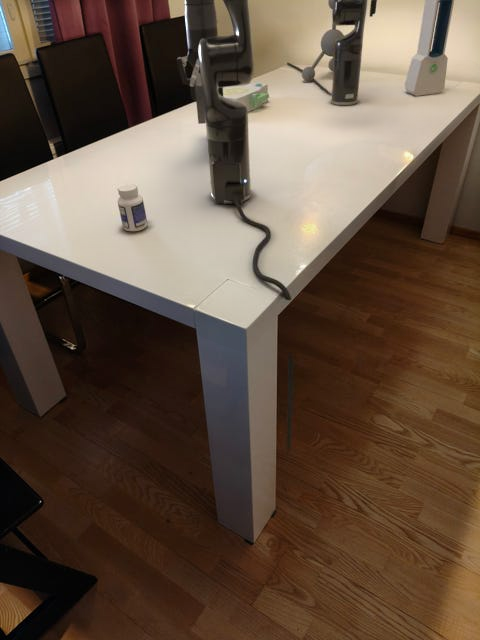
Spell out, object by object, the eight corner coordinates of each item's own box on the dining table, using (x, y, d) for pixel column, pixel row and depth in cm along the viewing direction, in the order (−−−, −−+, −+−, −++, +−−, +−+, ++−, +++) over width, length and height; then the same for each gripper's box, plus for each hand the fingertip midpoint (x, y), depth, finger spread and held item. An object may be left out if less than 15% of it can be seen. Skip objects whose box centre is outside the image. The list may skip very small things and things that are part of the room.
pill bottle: (149, 220, 107) (142, 181, 102) (146, 231, 103) (138, 191, 98) (125, 221, 107) (116, 182, 102) (121, 232, 103) (112, 193, 98)
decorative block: (232, 78, 185) (277, 83, 175) (233, 96, 189) (277, 102, 179) (189, 94, 169) (235, 100, 159) (191, 113, 173) (236, 121, 163)
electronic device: (413, 96, 177) (429, -3, 159) (402, 91, 183) (416, -4, 164) (444, 92, 179) (462, -6, 161) (432, 88, 185) (449, -7, 167)
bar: (219, 122, 127) (217, 84, 122) (198, 123, 127) (194, 86, 122) (220, 99, 146) (217, 65, 140) (201, 100, 146) (198, 67, 140)
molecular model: (291, 76, 212) (292, -6, 194) (337, 70, 217) (342, -11, 198) (313, 87, 194) (316, -2, 176) (362, 81, 199) (371, -7, 180)
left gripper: (170, 29, 114) (179, 106, 124) (231, 26, 114) (235, 102, 124) (172, 25, 120) (181, 98, 130) (231, 22, 120) (234, 95, 130)
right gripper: (388, -59, 127) (380, 14, 137) (333, -56, 129) (329, 16, 139) (391, -59, 121) (382, 18, 131) (333, -55, 123) (329, 19, 133)
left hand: (207, 100), depth 127 cm, fingers closed on bar, 5 cm apart
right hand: (355, 17), depth 135 cm, fingers open, 8 cm apart
